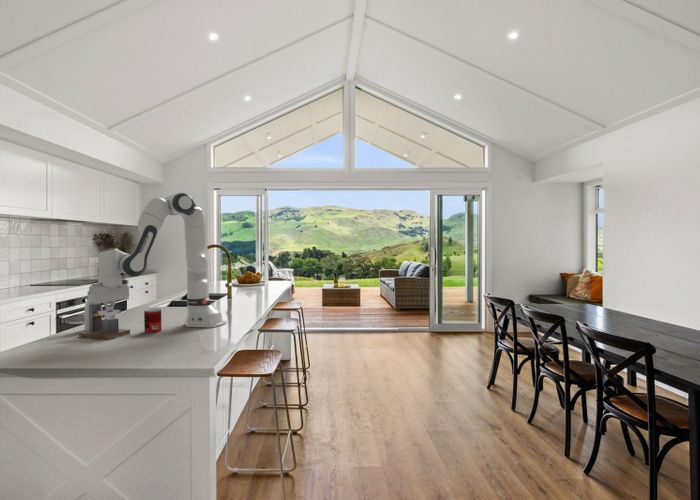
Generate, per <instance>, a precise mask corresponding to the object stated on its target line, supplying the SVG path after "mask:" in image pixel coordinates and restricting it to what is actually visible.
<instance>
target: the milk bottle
mask: <svg viewBox="0 0 700 500" xmlns="http://www.w3.org/2000/svg"><path fill="white" fill-rule="evenodd" d="M88 294H89V290H88V291H87V295H88ZM102 308H103V307H102V305H101V311H103V309H102ZM83 315H84V331H89V302H88V299H87V300H86V303H85V304H84V314H83ZM101 320H103V315H101Z"/></svg>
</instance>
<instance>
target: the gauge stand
mask: <svg viewBox="0 0 700 500" xmlns="http://www.w3.org/2000/svg"><path fill="white" fill-rule="evenodd" d="M101 306H102V303H98V304H89V331H85V330H84V331H80V332H78V338H86V339H92V340H93V339H95V340H103V341H108V340H112V339H113V340H114V339H116V338H120V337H124V336H128V335H130V334H131V329H126V328H125V329H124V328H119V318H115V319H114V320H105V318H104V319H102V320H101V315H100V316H95V314H97V313H96V311H101Z"/></svg>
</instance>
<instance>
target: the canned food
mask: <svg viewBox="0 0 700 500" xmlns="http://www.w3.org/2000/svg"><path fill="white" fill-rule="evenodd" d="M143 317H144V318H143V320H144V322H143V325H144V332H145V333H147V334H151V333H152V334H155V333H160V332H161V331H162V309H161V308H157V307H155V308H147V309H144V311H143Z"/></svg>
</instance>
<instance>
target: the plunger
mask: <svg viewBox="0 0 700 500" xmlns="http://www.w3.org/2000/svg"><path fill="white" fill-rule="evenodd" d="M96 313H99V315H102V316H104V319H105V320H114V319H116V315H118V314H121V309H114V310H112V311H106V309H105V310H102V311H96Z"/></svg>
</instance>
